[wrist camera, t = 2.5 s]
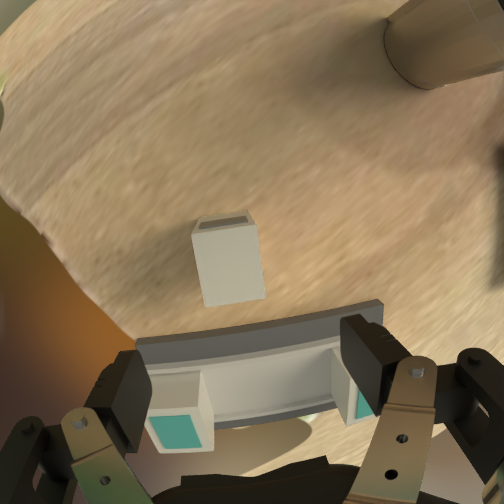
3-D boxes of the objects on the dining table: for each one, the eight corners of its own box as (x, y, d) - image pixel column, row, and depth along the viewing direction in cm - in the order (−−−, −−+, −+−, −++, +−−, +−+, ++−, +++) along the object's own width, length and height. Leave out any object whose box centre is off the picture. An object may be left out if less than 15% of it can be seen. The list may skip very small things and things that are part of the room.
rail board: (137, 338, 31) (118, 383, 23) (377, 299, 32) (414, 332, 25) (171, 424, 35) (165, 471, 27) (370, 390, 36) (395, 429, 28)
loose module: (199, 215, 28) (190, 232, 21) (247, 208, 28) (256, 222, 21) (209, 272, 30) (205, 307, 22) (255, 265, 30) (266, 298, 22)
